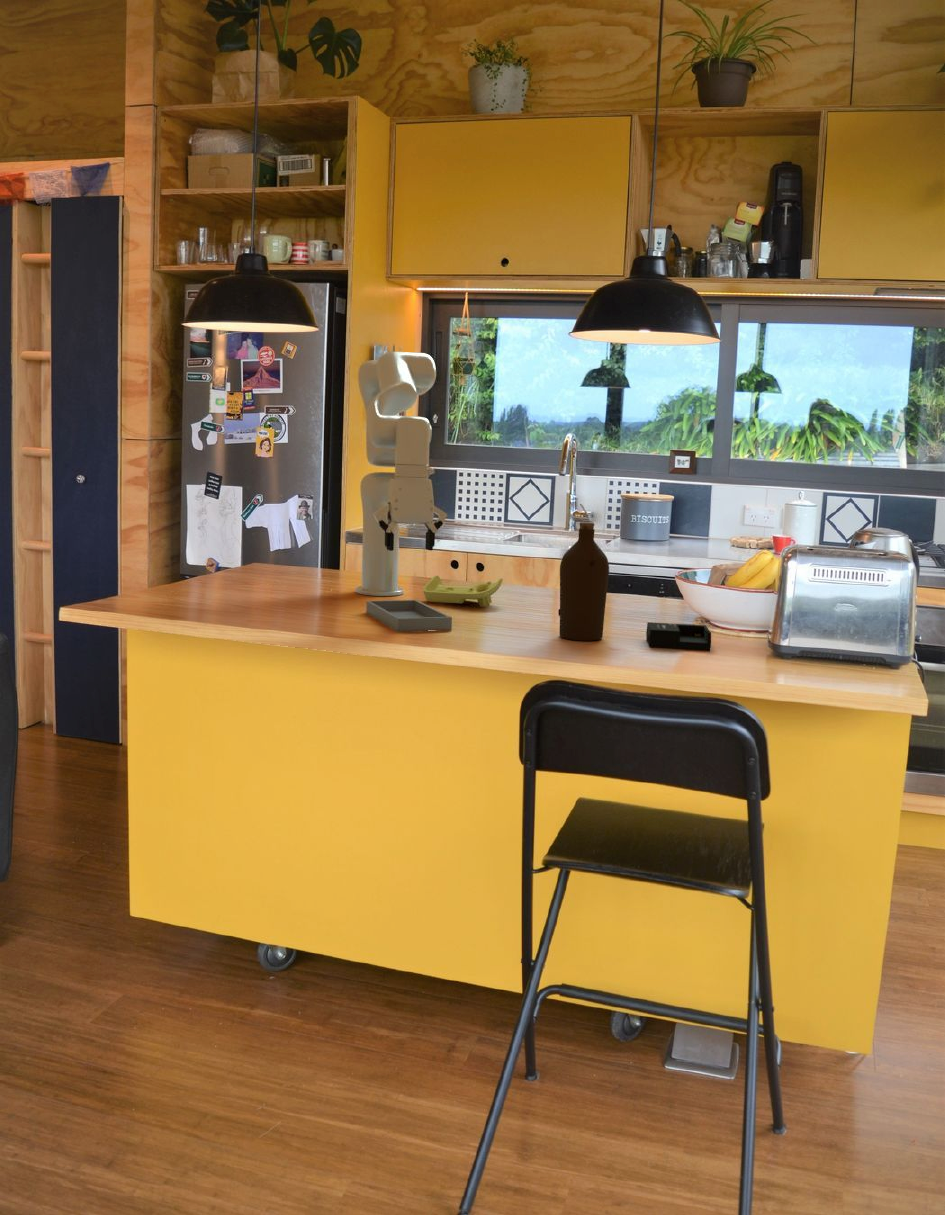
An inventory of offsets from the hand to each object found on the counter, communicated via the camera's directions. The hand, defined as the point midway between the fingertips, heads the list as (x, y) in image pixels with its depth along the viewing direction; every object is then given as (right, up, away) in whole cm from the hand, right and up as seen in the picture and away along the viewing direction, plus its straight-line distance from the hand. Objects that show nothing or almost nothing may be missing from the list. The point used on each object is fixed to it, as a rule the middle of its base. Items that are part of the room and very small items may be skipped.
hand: (409, 549), depth 255 cm
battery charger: (+58, -21, -11) cm, 63 cm away
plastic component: (+10, -13, +27) cm, 31 cm away
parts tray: (-1, -16, +3) cm, 16 cm away
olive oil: (+38, -20, -7) cm, 43 cm away
